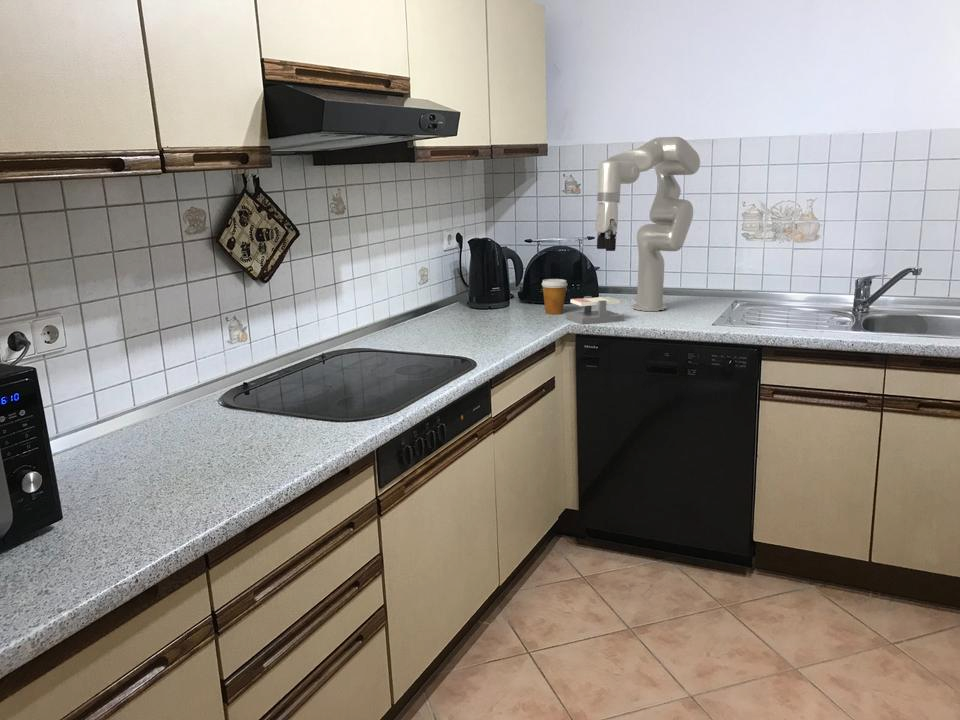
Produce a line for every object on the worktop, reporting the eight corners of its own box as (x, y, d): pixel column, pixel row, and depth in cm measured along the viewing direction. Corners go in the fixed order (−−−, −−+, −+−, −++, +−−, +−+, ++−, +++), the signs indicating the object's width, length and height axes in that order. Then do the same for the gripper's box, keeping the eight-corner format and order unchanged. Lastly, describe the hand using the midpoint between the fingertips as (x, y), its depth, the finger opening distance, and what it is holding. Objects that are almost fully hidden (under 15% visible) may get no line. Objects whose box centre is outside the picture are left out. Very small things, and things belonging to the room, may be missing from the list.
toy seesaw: (566, 318, 277) (566, 297, 275) (606, 315, 282) (606, 294, 281) (582, 324, 266) (582, 302, 264) (623, 321, 272) (624, 299, 270)
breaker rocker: (570, 302, 274) (570, 298, 274) (607, 300, 279) (607, 296, 279) (581, 306, 266) (581, 302, 266) (619, 303, 272) (620, 299, 271)
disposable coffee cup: (571, 312, 290) (572, 279, 287) (559, 316, 282) (560, 282, 279) (548, 309, 295) (548, 278, 292) (536, 313, 287) (536, 281, 284)
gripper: (590, 198, 270) (587, 248, 274) (606, 198, 254) (603, 251, 257) (610, 198, 272) (608, 248, 275) (628, 199, 255) (625, 251, 259)
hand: (605, 249), depth 266 cm, fingers open, 9 cm apart
